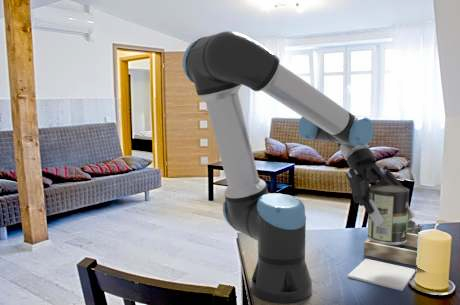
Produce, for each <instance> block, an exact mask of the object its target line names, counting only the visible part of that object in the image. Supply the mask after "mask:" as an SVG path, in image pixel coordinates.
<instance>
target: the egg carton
mask: <svg viewBox="0 0 460 305" xmlns="http://www.w3.org/2000/svg"><path fill="white" fill-rule="evenodd" d="M423 228H425V226H423V225H420V224H419V223H417V225H416V222H415V221H414V220H412V219H411V220H410V221H408V222H407V233H411V234H417V235H419V234H418V232H420V231H422V232H423Z"/></svg>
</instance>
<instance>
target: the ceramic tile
mask: <svg viewBox="0 0 460 305" xmlns="http://www.w3.org/2000/svg"><path fill="white" fill-rule="evenodd" d="M415 269H416V268H411V267H406V266H402V265H398V264H392V263H388V262H383V261H379V260H374V259H369V258H364V260H362V261H361V262H360V263H359V264H358V265H357V266H356V267H355V268H354V269H353V270H351V272H349V273H348V274H347V278H348V279H353V280H357V281H361V282H365V283H368V284H373V285H377V286H381V287H385V288H389V289H393V290H397V291H401V292H403V290H405V288H406V287H407V285H408V284H409V283H410V281H411V280H410V279H412V278H413V277H414V276H413V275H415V274H416V273H415Z"/></svg>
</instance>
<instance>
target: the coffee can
mask: <svg viewBox="0 0 460 305" xmlns="http://www.w3.org/2000/svg"><path fill="white" fill-rule="evenodd" d="M371 199H372V200H373V201H374V203H375V205H376V207H377V209H378V210H379V212H380V214H381V216H382V218H383V219H384V221H383V222H382V223H381V224H380V225H379V226H376V225H375V223H374V221H373V219H372V217H371V216H370V214H368V213H367V214H368V216H367V235H366V237H367V239H369V240H371V241H373V242H376V243H380V244H382V245H387V246H398V245H400V244H404V243H406V242H407V222H408V204H409V205H410V203H409V200H410V188H408V187H405V186H404V187H402V186H396V185H377V184H373V185H369V200H371ZM400 246H401V245H400Z"/></svg>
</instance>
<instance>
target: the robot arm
mask: <svg viewBox="0 0 460 305" xmlns="http://www.w3.org/2000/svg"><path fill="white" fill-rule="evenodd" d="M182 69H183V72H184V75H185V76H186V78H187V79H188V80H189V81H191V82H192V83H193V84H194V88H195V90H196V95H197V97H198V98H200V99H202V100H204V102H205V104H206V109H207V112H208V116H209V119H210V120H209V121H210V123H211V128H212V131H213V134H214V135H213V136H214V139H215V142H216V146H217V148H218V153H219V157H220V161H221V164H222V168H223V172H224V175H225V179H226V183H227V186H226V189H225V190H224V192H223V193H224V202H223V204H222V213H223V214H222V215H223V217H224V219H225V221H226V223H227V224H228V225H229V226H230V227H231V228H233V229H234V230H235V231H237V232H240V233H241V234H243V235H246V236H247V237H250V238H252V239H253V240H255V241H257V262H256V265H255V267H254V271H253V274H252V277H251V282H250V284H251V291H252V293H253V295H255V296H256V297H257V298H259V299H261V300H263V301H264V300H265V301H267V302H271V303H279V304H288V303H289V304H290V303H297V302H300V301H303V300H305V299H307V298H308V297H310V296H311V295H312V292H313V282H312V278H311V275H310V271H309V268H308V266H307V262H306V222H307V216H306V210H305V209H306V208H305V204H304V202H303V201H302V200H300V198H298V197H296V196H293V195H290V194H283V193H280V192H279V193H276V192H273V193H269V191H268V187H267V183H266V181H265V180H264V179H262V178H260V177H259V173H258V170H257V165H256V161H255V157H254V154H253V153H254V152H253V150H252V144H251V141H250V137H249V134H248V129H247V124H246V120H245V116H244V113H243V108H242V105H241V100H240V96H239V91H240V89H241V87H242V85H243V86H244V87H248V88H249V89H251V90H252V91H253V92H264V94H267V95H268V96H269V97H271V98H273V99H274V100H276V101H277V102H279V103H281V104H282V105H283V106H286V107H287V108H288V109H289V110H291V111H293V112H295V113H296V114H298V115H299V116H301V118H300V119H299V121H298V126H297V131H298V135H299V136H300V138H302V139H303V140H306V141H307V140H308V141H319V142H325V143H335V144H337V146H338V148H339V150H340V152H341V154H342V156H343V157H344V159H345V161H346V163H347V165H348V167H349V170H348V171H347V172H346V174H345V176H346V178H347V180H348V181H349V185H350V186H349V187H350V189H351V190H350V191H351V194H352V200H353V202H354V204H358V205H359V206H360V207H364V209H365V211H366V213H367V214H370V216H371V217H372V219H373V221H374V223H375V225H376V226H379V225H380V224H381V223H382V222H383V221H384V219H383V218H382V216H381V214H380V212H379V210H378V209H377V207H376V205H375V203H374V201H373V200H372V199H371V200H369V186H370V183H374V184H375V185H396V186H402V187H405V185H403V184H402V183H401V182H400V181H399V180H398V178H397V177H396V176H395V175H394V174H393V173H392V172H391V170H390V168H389V167H388V166H387V165H384V166H383V167H380V166H379V165H378V164H377V162H376V157H375V155H374V153H373V152H372V149H370V146H369V143H371V141H372V139H373V138H374V134H375V126H374V122H372V120H371V119H370V118H368V117H364V116H360V115H359V116H357V115H354V114H352V113H351V112H349V110H347V109H345V108H343V106H341V105H339V104H338V103H337V102H336V101H334V100H332V98H330V97H328V96H327V95H326V94H324V93H323V92H321V91H320V90H319V89H317V88H316V87H314V86H313V85H311V84H310V83H308V82H307V81H306V80H304V79H303V78H302V77H300V76H299V75H297V74H296V73H294V71H292V70H290V69H289V68H288V67H286V66H285V65H283V64H282V63H280V57H279V56H278V55H277V54H276V53H275V52H273V51H271V50H270V49H269V48H267V47H265V46H264V45H263V44H261V43H259V42H258V41H256V40H255V39H253V38H251V37H249V36H248V35H245V34H243V33H240V32H237V31H230V30H229V31H226V30H225V31H222V32H218V33H216V34H212V35H209V36H202V37H200V38H198V39H197V40H194V41H193V42H191V43H190V44H189V45H188V46H187V48H186V49H185V51H184V53H183V56H182ZM415 216H416V215H415V214H414V212H413V210H412V209H411V207H410V203H409V204H408V221H410V220H412V219H414V217H415Z"/></svg>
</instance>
